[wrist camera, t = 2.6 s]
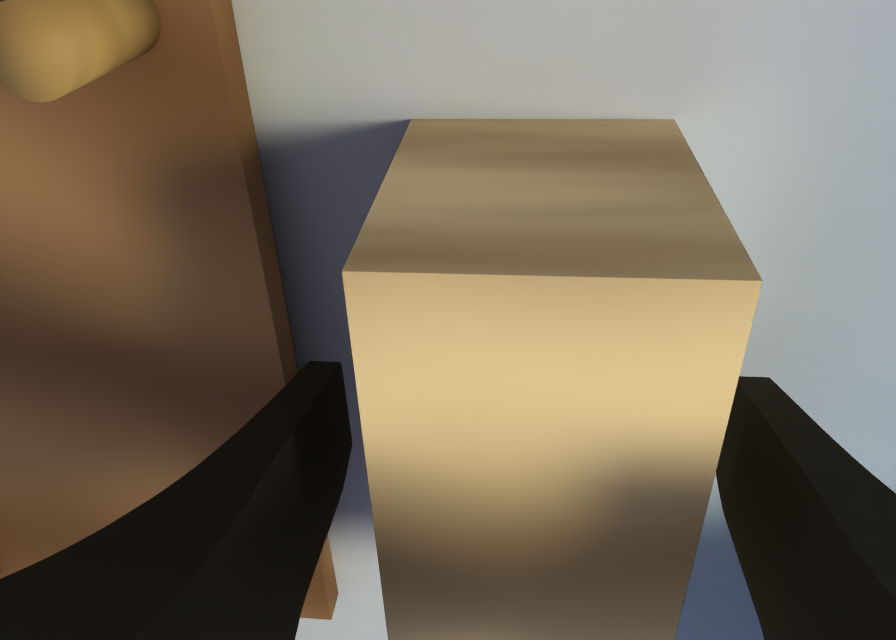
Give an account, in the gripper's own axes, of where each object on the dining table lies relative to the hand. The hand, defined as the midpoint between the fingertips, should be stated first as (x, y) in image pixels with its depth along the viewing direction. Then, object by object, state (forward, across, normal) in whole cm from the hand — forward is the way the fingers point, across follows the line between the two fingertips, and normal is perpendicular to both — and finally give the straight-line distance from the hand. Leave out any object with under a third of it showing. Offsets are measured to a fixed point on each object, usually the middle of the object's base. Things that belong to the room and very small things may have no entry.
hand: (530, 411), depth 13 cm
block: (+2, 0, 0) cm, 2 cm away
